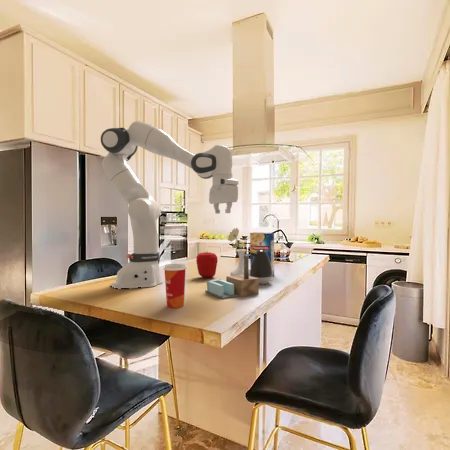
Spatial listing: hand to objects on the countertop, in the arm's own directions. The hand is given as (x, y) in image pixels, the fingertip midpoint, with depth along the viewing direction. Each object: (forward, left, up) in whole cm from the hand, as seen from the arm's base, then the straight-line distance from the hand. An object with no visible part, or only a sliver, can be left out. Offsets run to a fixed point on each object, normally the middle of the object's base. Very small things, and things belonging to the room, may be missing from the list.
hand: (222, 213), depth 140 cm
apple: (+2, +19, -32) cm, 37 cm away
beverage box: (+29, +9, -32) cm, 44 cm away
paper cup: (-31, -21, -32) cm, 49 cm away
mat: (-10, -15, -32) cm, 36 cm away
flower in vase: (+16, +10, -32) cm, 37 cm away
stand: (-1, -17, -32) cm, 36 cm away
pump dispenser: (+16, -7, -32) cm, 36 cm away
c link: (-10, -15, -31) cm, 36 cm away
